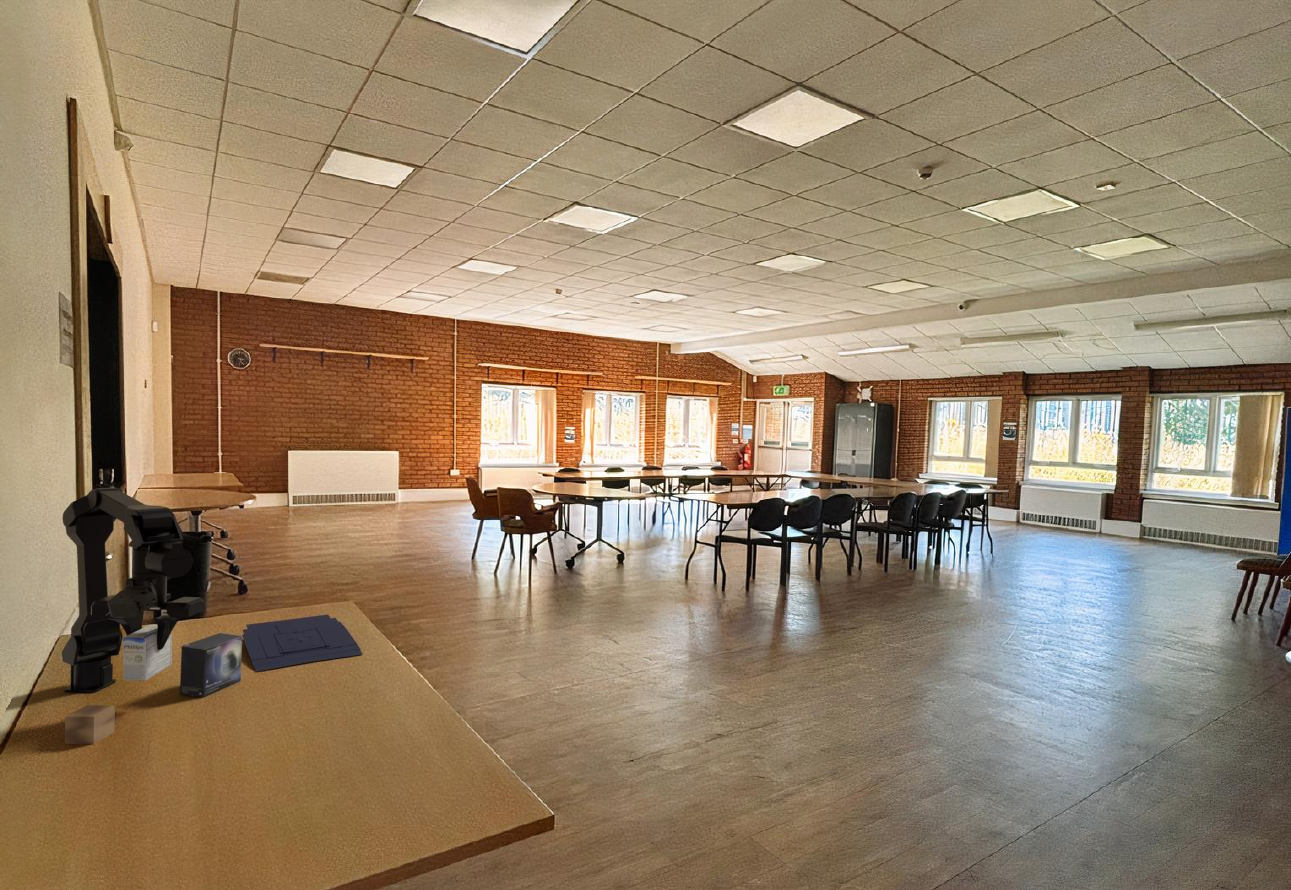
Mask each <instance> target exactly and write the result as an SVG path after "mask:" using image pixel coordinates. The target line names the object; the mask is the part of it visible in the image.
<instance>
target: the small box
mask: <svg viewBox="0 0 1291 890" xmlns="http://www.w3.org/2000/svg"><path fill="white" fill-rule="evenodd" d="M242 646H243V636H242V635H237V634H229V633H223V632H219V633H215V634H213V635H210V636H208V637H204V638H201V639H198V640H195V641H192V642H189V643H186V644H183V645H181V650H180V651H181V655H180V678H179V679H180V680H179V682H180V683H179V692H178V693H179V695H184V696H185V695H186V696H190V697H191V696H193V697H197V698H198V697H199V698H204V697H207V696H209V695H211V694H214V693H216V692H219V691H221V690H223V689H225V688H227V687H230V686H233V685H234V684H237V683H240V682H241V678H242V651H243V650H242V649H243V647H242Z"/></svg>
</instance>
